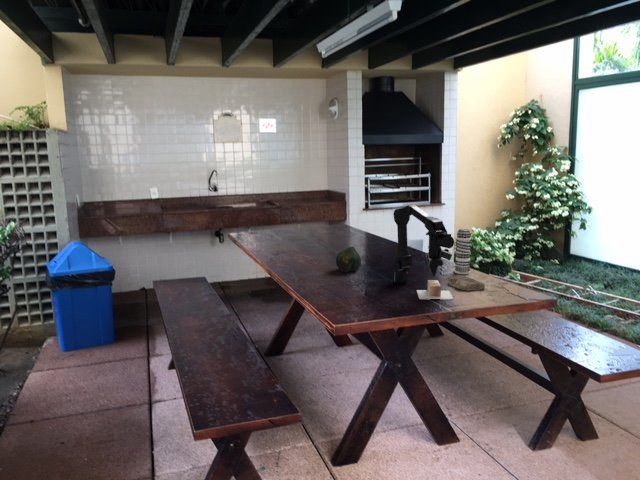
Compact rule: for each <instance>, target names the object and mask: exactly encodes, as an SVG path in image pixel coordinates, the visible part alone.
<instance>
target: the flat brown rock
mask: <svg viewBox="0 0 640 480" xmlns="http://www.w3.org/2000/svg"><path fill="white" fill-rule="evenodd" d="M447 283H448V285H449V286H451V287H452V286H453V287H452V288H455V289H459V290H461V291H468V292H471V291H470V290H475V291H477V290H478V291H481V289H483V290H485V289H486V288H485V287H486V285H485V283H484V282H481V281H479V280H477V279H474V278H471V277H468V276H467V277H466V276H464V275H462V274H460V275H459V274H458V275H456V274H455V275H453V276H449V277H448V279H447Z"/></svg>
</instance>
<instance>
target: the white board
mask: <svg viewBox="0 0 640 480" xmlns="http://www.w3.org/2000/svg"><path fill="white" fill-rule="evenodd" d="M416 293H417V297H418V299H419V300H430V299H440V301H441V300H442V301H443V300H444V301H448V300H449V301H454V297H453V295H452V293H451V291H450V290H442V289H441V297H434V296H430V295H429V292H428V289H416Z"/></svg>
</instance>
